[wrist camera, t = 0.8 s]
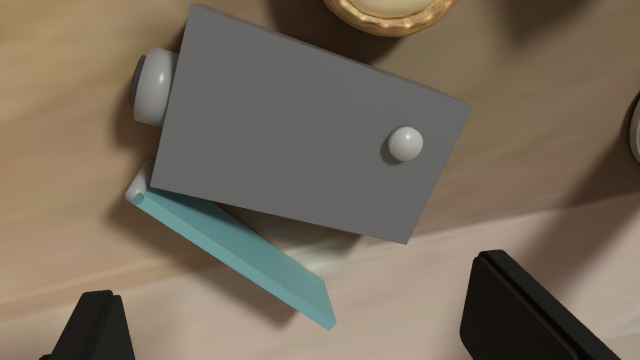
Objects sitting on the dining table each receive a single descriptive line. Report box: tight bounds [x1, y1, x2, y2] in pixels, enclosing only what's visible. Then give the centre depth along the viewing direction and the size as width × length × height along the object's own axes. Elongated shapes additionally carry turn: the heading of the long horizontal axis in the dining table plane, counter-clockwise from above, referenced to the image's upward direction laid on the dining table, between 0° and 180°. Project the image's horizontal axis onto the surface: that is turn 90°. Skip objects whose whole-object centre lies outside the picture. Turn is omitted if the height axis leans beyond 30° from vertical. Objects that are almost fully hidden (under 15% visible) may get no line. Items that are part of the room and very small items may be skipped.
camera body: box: [129, 4, 473, 245], centre depth 31 cm, size 22×12×7 cm, turn 70°
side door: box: [125, 159, 336, 331], centre depth 34 cm, size 20×1×6 cm, turn 45°
